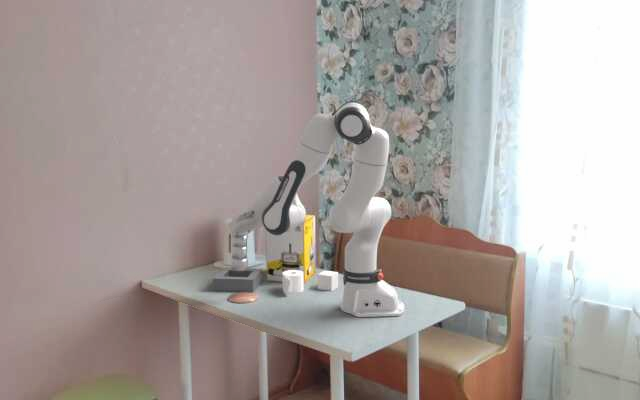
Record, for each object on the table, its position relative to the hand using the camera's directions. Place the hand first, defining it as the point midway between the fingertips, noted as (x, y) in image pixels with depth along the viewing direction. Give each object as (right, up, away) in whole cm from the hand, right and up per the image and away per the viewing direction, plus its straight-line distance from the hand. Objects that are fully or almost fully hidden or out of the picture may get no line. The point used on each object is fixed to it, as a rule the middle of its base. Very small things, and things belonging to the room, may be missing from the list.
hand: (238, 234), depth 209 cm
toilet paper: (+18, -23, +11) cm, 32 cm away
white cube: (+33, -22, +15) cm, 43 cm away
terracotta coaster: (+1, -24, +4) cm, 24 cm away
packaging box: (+18, -20, +31) cm, 41 cm away
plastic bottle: (0, -14, +2) cm, 14 cm away
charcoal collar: (-3, -22, +19) cm, 29 cm away
